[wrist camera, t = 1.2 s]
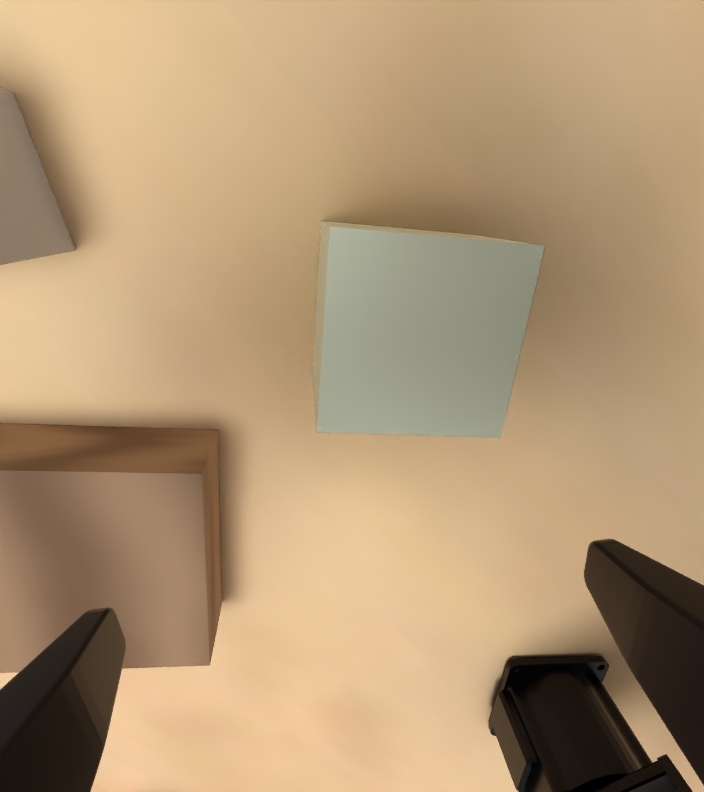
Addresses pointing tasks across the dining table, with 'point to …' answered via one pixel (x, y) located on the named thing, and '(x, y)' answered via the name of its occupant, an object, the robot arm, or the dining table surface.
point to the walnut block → (110, 539)
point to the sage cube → (418, 329)
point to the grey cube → (25, 194)
